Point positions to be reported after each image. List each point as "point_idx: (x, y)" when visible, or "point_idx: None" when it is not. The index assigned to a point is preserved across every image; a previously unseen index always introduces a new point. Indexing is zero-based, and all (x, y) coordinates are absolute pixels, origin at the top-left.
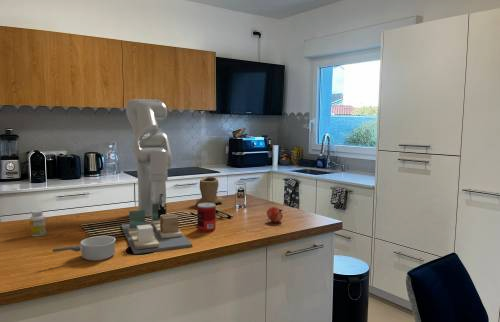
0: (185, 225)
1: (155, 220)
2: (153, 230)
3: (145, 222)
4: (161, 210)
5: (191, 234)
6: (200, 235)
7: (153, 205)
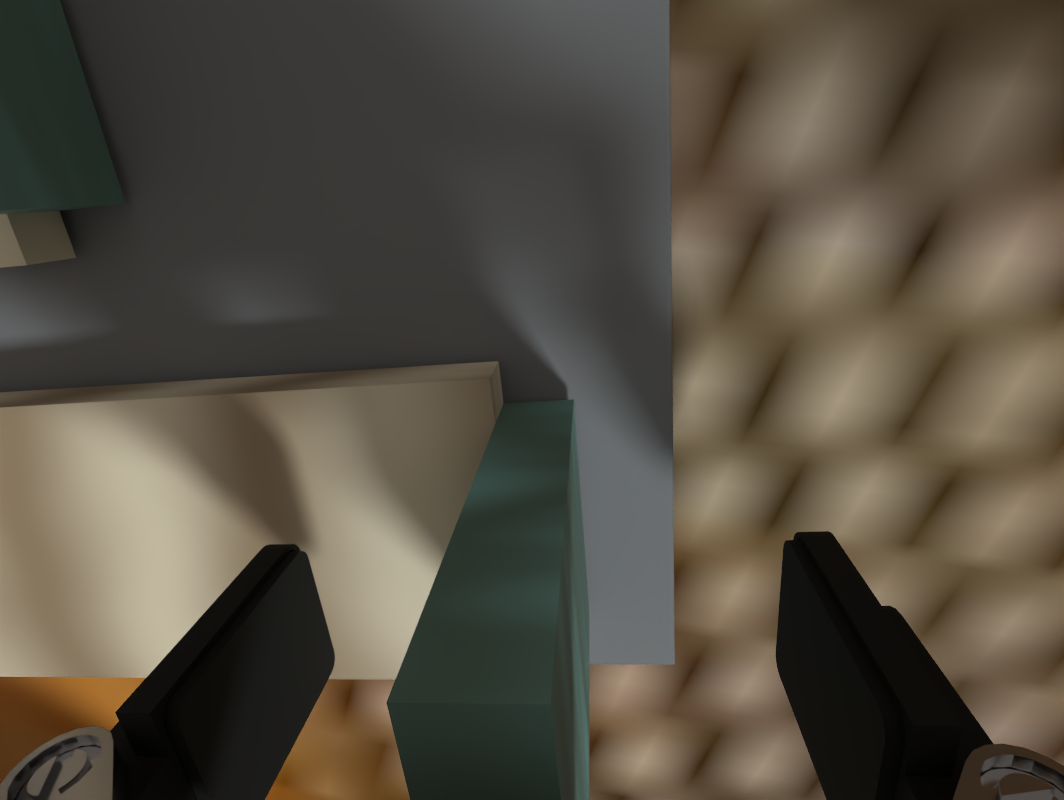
0: None
1: (467, 466)
2: (71, 350)
3: (633, 268)
4: (124, 751)
5: (45, 726)
6: None
7: (396, 712)
